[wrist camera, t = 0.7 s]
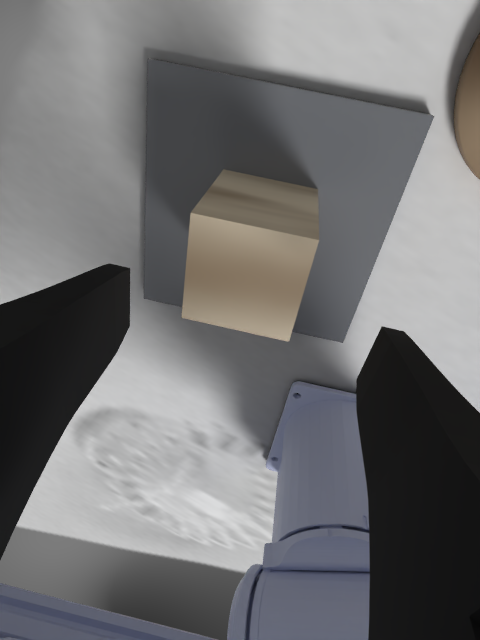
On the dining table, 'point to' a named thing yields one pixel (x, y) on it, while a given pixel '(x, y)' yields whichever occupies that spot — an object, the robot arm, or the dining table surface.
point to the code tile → (276, 175)
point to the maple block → (250, 254)
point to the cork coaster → (469, 110)
